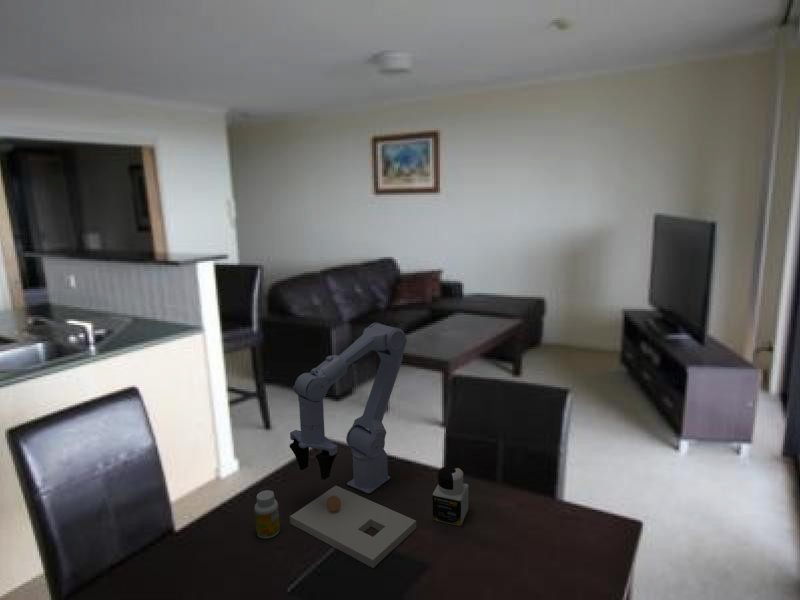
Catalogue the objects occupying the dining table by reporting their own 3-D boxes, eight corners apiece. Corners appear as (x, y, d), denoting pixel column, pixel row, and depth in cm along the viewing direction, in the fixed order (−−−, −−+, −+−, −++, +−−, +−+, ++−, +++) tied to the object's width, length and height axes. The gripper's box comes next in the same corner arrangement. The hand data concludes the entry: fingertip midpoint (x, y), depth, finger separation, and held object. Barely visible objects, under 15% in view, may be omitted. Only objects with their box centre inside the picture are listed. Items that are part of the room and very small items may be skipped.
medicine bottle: (432, 520, 125) (431, 475, 122) (441, 503, 131) (440, 460, 129) (461, 526, 122) (461, 481, 119) (468, 509, 128) (468, 465, 126)
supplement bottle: (251, 535, 121) (248, 498, 119) (267, 522, 126) (264, 486, 123) (269, 542, 118) (266, 504, 116) (284, 528, 123) (281, 491, 121)
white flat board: (290, 523, 125) (289, 516, 124) (336, 492, 137) (335, 485, 137) (373, 568, 109) (372, 560, 109) (416, 528, 122) (416, 520, 121)
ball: (333, 503, 129) (333, 491, 128) (344, 508, 127) (343, 495, 126) (323, 510, 126) (323, 498, 125) (334, 515, 124) (333, 502, 123)
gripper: (279, 420, 127) (282, 470, 129) (321, 436, 118) (324, 489, 121) (301, 410, 132) (303, 459, 135) (342, 425, 124) (344, 476, 126)
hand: (314, 473), depth 128 cm, fingers open, 7 cm apart
